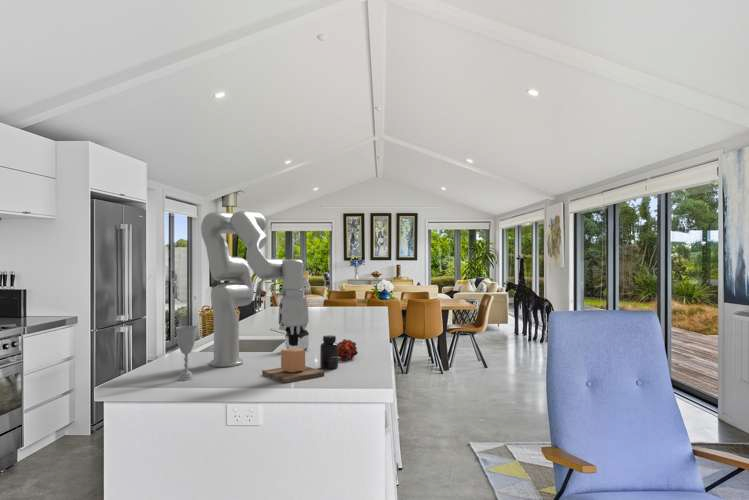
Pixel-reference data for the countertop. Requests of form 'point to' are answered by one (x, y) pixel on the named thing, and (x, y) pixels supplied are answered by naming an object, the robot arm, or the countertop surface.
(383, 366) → the countertop surface
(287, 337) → the spread jar
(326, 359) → the supplement bottle
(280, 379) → the walnut board
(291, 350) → the peach colored cube
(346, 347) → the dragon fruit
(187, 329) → the chalice
